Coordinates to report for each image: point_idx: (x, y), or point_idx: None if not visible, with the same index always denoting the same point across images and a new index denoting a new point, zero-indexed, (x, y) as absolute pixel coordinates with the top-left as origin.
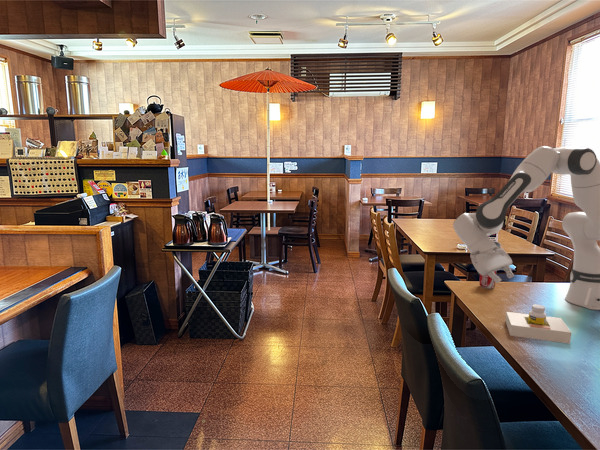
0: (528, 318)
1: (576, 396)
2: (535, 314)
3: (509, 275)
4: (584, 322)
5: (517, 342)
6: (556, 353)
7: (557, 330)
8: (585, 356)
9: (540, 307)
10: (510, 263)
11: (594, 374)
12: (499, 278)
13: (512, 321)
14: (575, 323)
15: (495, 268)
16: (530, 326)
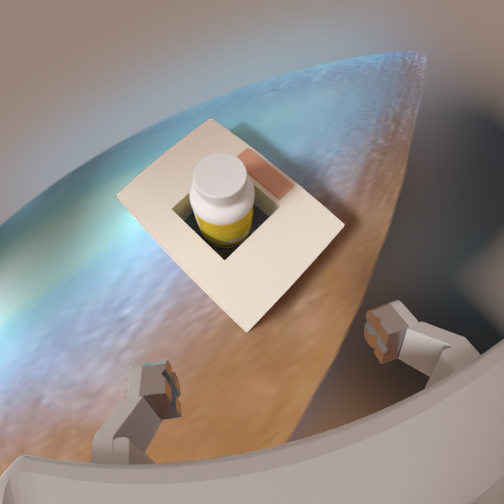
0: (243, 225)
1: (389, 66)
2: (250, 181)
3: (170, 388)
4: (37, 215)
5: (348, 199)
6: (301, 125)
7: (234, 137)
8: (249, 97)
9: (225, 162)
10: (53, 461)
11: (306, 68)
12: (395, 314)
13: (314, 245)
14: (58, 220)
15: (441, 381)
16: (293, 185)
